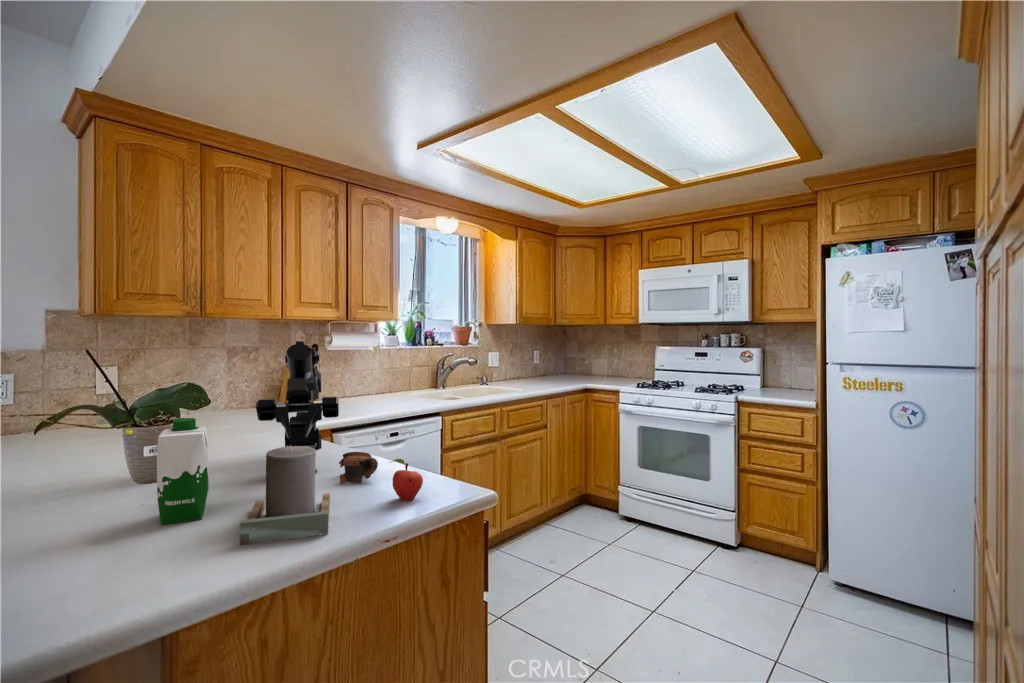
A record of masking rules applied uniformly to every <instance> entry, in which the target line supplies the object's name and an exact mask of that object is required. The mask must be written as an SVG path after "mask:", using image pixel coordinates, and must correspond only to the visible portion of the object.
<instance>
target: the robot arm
mask: <svg viewBox="0 0 1024 683" xmlns="http://www.w3.org/2000/svg"><path fill="white" fill-rule="evenodd" d="M284 358H285V364H286V365H287V368H288V371H289V378H288V379H286V380H287V381H286V391H285V392H286V394H285V401H276V398H260V399H258V400H257V401H256V405H255V411H256V415H257V419H258V421H260V422H267V421H268V422H269V421H273V420H275V422H276V423H280V424H281V425H282V427H283V429H284V430H285V431H284V447H290V445H291V446H308V447H311V448H314V449H315V450H316V451H319V450H322V433H321V432H320V428H319V427H317V422H318V421H321V420H322V418H323V417H324V418H325V419H326V418H329V419H330V418H331V419H332V418H338V417H339V414H340V413H339V412H340V410H339V407H340V406H339V400H340V399H339V397H338V396H322V399H321V402H315V401H317V400H318V399H320V394H321V393H322V373H321V372H320V371H319V370H318V369H317V367H316V365H318V364H319V361H321V360H320V355H319V353H318V351H316V349H315V347H309V345H307V344H305V341H303V340H302V341H301V340H300V341H299V340H298V341H295V344H293V345H291V346H289V347H288V348H287V349H286V353H285V355H284ZM289 413H291V414H294V413H296V414H295V415H294V416H291V417H289ZM316 473H318V470H317V469H316V468H315V474H316Z"/></svg>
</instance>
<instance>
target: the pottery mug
mask: <svg viewBox="0 0 1024 683" xmlns="http://www.w3.org/2000/svg"><path fill="white" fill-rule="evenodd" d="M342 457H343V458H341V459H340V461H339V462H338V465H340V466H339V468H342V467H344V473H342V474H339V484H343V483H344V484H345V483H351V484H355V483H356V484H362V483H361V482H363V479H364V478H365V479H370V478H371V476H372V475H373V474H374V473H375V472H376V471H377V469H378V466H379V465H378V464H379V463H378V460H377V459H376V458H374V457H372V455H371V454H370V453H368V452H363V451H350V452H345V453H344V454H342ZM363 477H364V478H363Z"/></svg>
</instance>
